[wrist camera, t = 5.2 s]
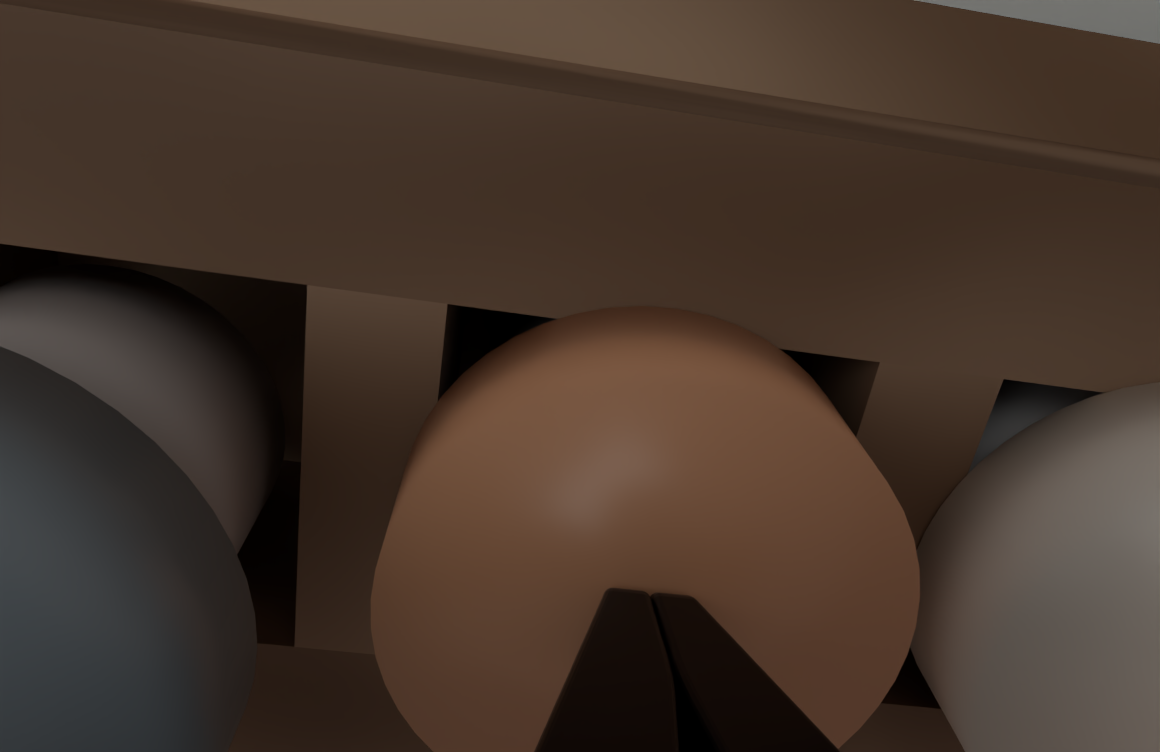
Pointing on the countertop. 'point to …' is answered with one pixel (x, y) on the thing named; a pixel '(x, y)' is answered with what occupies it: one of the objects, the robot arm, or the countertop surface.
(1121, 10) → the countertop surface
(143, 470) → the knob
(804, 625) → the knob mid
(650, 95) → the mount
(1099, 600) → the knob
